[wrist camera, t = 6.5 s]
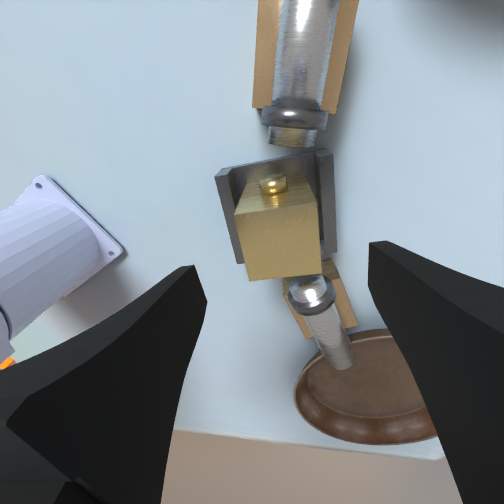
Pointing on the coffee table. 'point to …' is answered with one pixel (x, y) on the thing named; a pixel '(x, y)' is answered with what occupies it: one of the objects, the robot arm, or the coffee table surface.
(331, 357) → the shaft
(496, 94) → the coffee table surface
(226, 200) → the cradle
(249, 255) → the block
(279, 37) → the shaft
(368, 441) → the plant saucer
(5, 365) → the orange juice
